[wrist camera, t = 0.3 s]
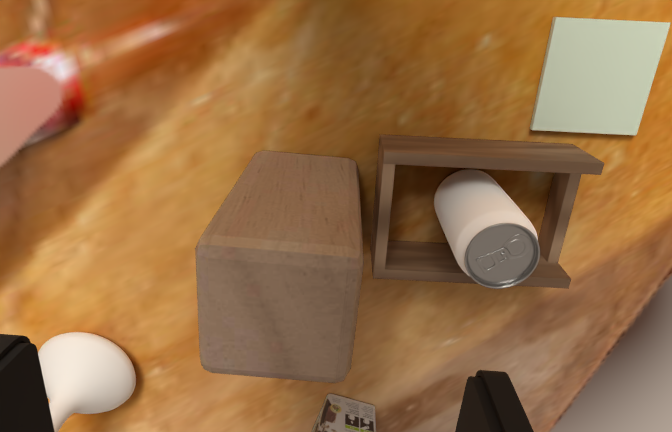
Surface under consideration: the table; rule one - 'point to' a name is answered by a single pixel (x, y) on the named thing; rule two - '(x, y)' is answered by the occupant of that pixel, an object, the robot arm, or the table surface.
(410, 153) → the walnut box
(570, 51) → the sage mat
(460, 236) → the can
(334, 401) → the coffee box
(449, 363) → the table surface
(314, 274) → the block
